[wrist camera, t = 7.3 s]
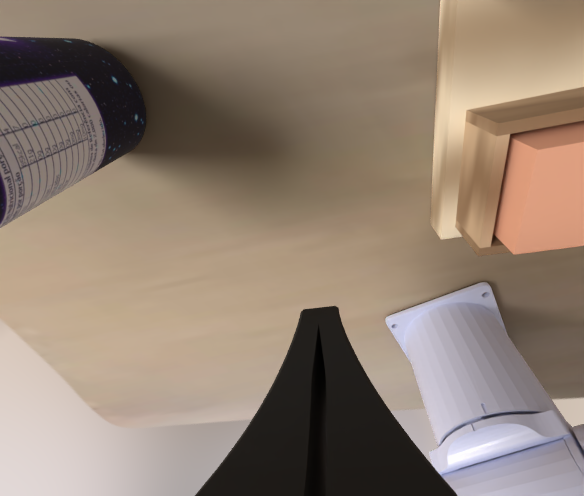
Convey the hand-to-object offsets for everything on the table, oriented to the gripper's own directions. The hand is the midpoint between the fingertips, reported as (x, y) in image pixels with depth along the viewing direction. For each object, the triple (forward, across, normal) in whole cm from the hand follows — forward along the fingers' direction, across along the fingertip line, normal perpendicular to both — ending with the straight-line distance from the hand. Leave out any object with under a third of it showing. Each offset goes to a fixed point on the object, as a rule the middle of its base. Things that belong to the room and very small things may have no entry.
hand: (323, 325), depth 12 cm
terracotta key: (+7, -11, -2) cm, 13 cm away
